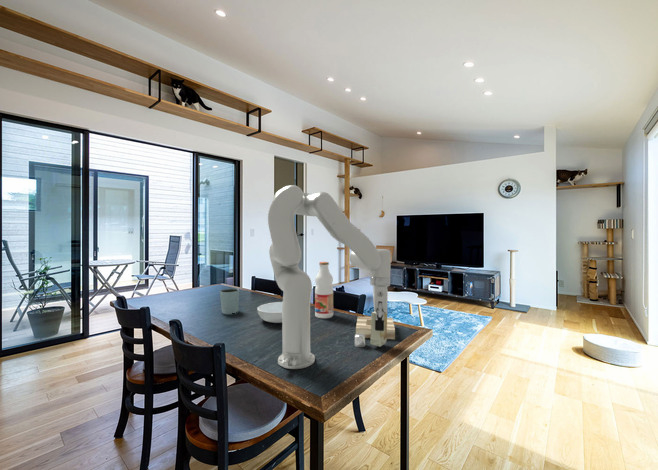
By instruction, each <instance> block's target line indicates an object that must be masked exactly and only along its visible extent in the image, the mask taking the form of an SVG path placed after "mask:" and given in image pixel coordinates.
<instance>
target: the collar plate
mask: <svg viewBox="0 0 658 470" xmlns="http://www.w3.org/2000/svg"><path fill="white" fill-rule="evenodd" d="M358 333H361V334H364V335H365V339H371V316H357V319H356V326H355V334H358ZM387 340H396V328H395V323H394V318H393V317H387Z"/></svg>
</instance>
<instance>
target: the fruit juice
mask: <svg viewBox="0 0 658 470" xmlns="http://www.w3.org/2000/svg"><path fill="white" fill-rule="evenodd" d="M318 264H319V265H318V266H319V270H318V273H317V274H316V276H315V279H314V281H315V287H314V315H315V317H316V318H318V319H330V318H332V317H333V316H334V289H333V287H334V286H333V282H334V278H333V275H332V274H331V273H330V270H329V265H330V262H328V261H319V263H318Z"/></svg>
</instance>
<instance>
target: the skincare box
mask: <svg viewBox="0 0 658 470" xmlns="http://www.w3.org/2000/svg"><path fill="white" fill-rule="evenodd" d="M377 311H378V310H377ZM377 315H378V313H377ZM370 317H371V338H370V345H372V346H377V347H382V346H383V345H385V344H386V343H387V340H388V339H387V318H388V312H387V313H386V312H384V314H383V320H384V331H376V330H375V319H376V312H375V311H372V312H371V316H370ZM377 318H378V317H377Z"/></svg>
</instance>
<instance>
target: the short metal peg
mask: <svg viewBox="0 0 658 470" xmlns="http://www.w3.org/2000/svg"><path fill="white" fill-rule="evenodd" d="M354 346H355V347H356V348H364V347H366V338H365V335H364V334H361V333H358V334H356V333H355V334H354Z"/></svg>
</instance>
